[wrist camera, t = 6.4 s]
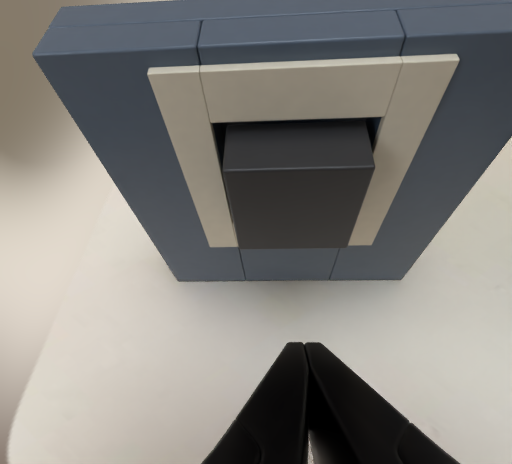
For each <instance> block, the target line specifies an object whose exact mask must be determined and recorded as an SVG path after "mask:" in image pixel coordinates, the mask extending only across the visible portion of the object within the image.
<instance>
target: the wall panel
mask: <svg viewBox="0 0 512 464" xmlns="http://www.w3.org/2000/svg"><path fill="white" fill-rule="evenodd" d="M32 55H33V57H34V59H35V61H36V62H37V63H38V65H39V67H40V68H41V69H42V71H43V73H44V75H45V76H46V78H47V79H48V81H49V82H50V84H51V85H52V87H53V88H54V90H55V92H56V93H57V95H58V96H59V98H60V99H61V101H62V102H63V104H64V105H65V107H66V108H67V110H68V112H69V113H70V115H71V116H72V118H73V119H74V121H75V122H76V124H77V126H78V127H79V129H80V130H81V132H82V133H83V135H84V136H85V138H86V139H87V141H88V143H89V144H90V146H91V147H92V149H93V150H94V152H95V153H96V155H97V157H98V158H99V160H100V161H101V163H102V164H103V166H104V167H105V169H106V170H107V172H108V174H109V175H110V177H111V178H112V180H113V181H114V183H115V184H116V186H117V188H118V189H119V191H120V192H121V194H122V195H123V197H124V198H125V200H126V201H127V203H128V205H129V206H130V208H131V209H132V211H133V212H134V214H135V215H136V217H137V218H138V220H139V222H140V223H141V225H142V226H143V228H144V229H145V231H146V232H147V234H148V236H149V237H150V239H151V240H152V242H153V243H154V245H155V246H156V248H157V249H158V251H159V253H160V254H161V256H162V257H163V259H164V260H165V262H166V263H167V265H168V266H169V268H170V270H171V271H172V273H173V274H174V276H175V277H176V279H177V280H178V281H245V280H247V281H270V280H329V279H330V280H401V279H402V278H403V277H404V275H405V274H406V273H407V272H408V270H409V269H410V268H411V266H412V265H413V264H414V262H415V261H416V260H417V259H418V257H419V256H420V255H421V253H422V252H423V251H424V250H425V248H426V247H427V246H428V244H429V243H430V242H431V240H432V239H433V238H434V237H435V235H436V234H437V233H438V231H439V230H440V229H441V227H442V226H443V225H444V224H445V222H446V221H447V220H448V218H449V217H450V216H451V214H452V213H453V212H454V211H455V209H456V208H457V207H458V205H459V204H460V203H461V201H462V200H463V199H464V198H465V196H466V195H467V194H468V192H469V191H470V190H471V188H472V187H473V186H474V185H475V183H476V182H477V181H478V179H479V178H480V177H481V175H482V174H483V173H484V172H485V170H486V169H487V168H488V166H489V165H490V164H491V163H492V161H493V160H494V159H495V157H496V156H497V155H498V153H499V152H500V151H501V150H502V148H503V147H504V146H505V144H506V143H507V142H508V140H509V139H510V138H511V137H512V0H173V1H157V2H140V3H121V4H103V5H87V6H69V7H61V8H60V10H59V11H58V13H57V15H56V16H55V18H54V19H53V21H52V22H51V24H50V25H49V29H48V30H47V31H46V32H45V34H44V36H43V37H42V39H41V41H40V42H39V44H38V45H37V47H36V48H35V50H34V51H33V53H32ZM340 121H365V122H366V126H367V131H368V135H369V140H370V144H371V149H372V153H373V158H374V162H375V167H376V168H375V170H374V173H373V176H372V179H371V182H370V185H369V187H368V190H367V193H366V196H365V199H364V201H363V204H362V207H361V210H360V213H359V215H358V218H357V221H356V224H355V227H354V229H353V232H352V235H351V238H350V241H349V244H348V246H347V248H322V249H239V247H238V242H237V238H236V233H235V228H234V224H233V219H232V214H231V209H230V205H229V200H228V195H227V191H226V186H225V181H224V177H223V172H222V170H223V159H224V148H225V137H226V128H227V126H229V125H253V124H282V123H311V122H340Z"/></svg>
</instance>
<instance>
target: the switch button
mask: <svg viewBox="0 0 512 464" xmlns="http://www.w3.org/2000/svg"><path fill="white" fill-rule="evenodd" d="M375 168H376V167H375V162H374V158H373V153H372V149H371V144H370V140H369V135H368V131H367V126H366V122H365V121H340V122H311V123H282V124H253V125H229V126H227V128H226V137H225V148H224V159H223V170H222V172H223V177H224V181H225V186H226V191H227V195H228V200H229V205H230V209H231V214H232V219H233V224H234V228H235V233H236V238H237V242H238V247H239V249H322V248H347V246H348V244H349V241H350V238H351V235H352V232H353V229H354V227H355V224H356V221H357V218H358V215H359V213H360V210H361V207H362V204H363V201H364V199H365V196H366V193H367V190H368V187H369V185H370V182H371V179H372V176H373V173H374V170H375Z"/></svg>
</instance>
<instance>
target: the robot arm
mask: <svg viewBox="0 0 512 464" xmlns="http://www.w3.org/2000/svg"><path fill="white" fill-rule="evenodd" d="M309 439H310V444H311V450H312V455H313V460H314V464H460V463H459V462H458V461H456V460H455V459H454V458H452V457H451V456H450V455H449V454H447V453H446V452H445V451H444V450H443V449H441V448H440V447H439V446H438V445H437V444H435V443H434V442H433V441H432V440H431V439H430V438H428V437H427V436H426V435H425V434H424V433H423V432H421V431H420V430H419V429H418V428H417V427H416V426H415V425H414V424H412V423H409V420H408V419H407V418H405V417H404V416H403V415H402V414H401V413H400V412H399V411H397V410H396V409H395V408H394V407H393V406H392V405H391V404H390V403H388V402H387V401H386V400H385V399H384V398H383V397H382V396H380V395H379V394H378V393H377V392H376V391H375V390H374V389H373V388H371V387H370V386H369V385H368V384H367V383H366V382H365V381H363V380H362V379H361V378H360V377H359V376H358V375H357V374H356V373H354V372H353V371H352V370H351V369H350V368H349V367H348V366H346V365H345V364H344V363H343V362H342V361H341V360H340V359H339V358H337V357H336V356H335V355H334V354H333V353H332V352H331V351H329V350H328V349H327V348H326V347H325V346H324V345H323V344H321V343H319V342H307V343H305V344H303V343H301V342H289V343H287V344H286V346H285V347H284V349H283V350H282V352H281V353H280V355H279V356H278V357H277V359H276V360H275V362H274V363H273V365H272V366H271V368H270V369H269V371H268V372H267V373H266V375H265V376H264V378H263V379H262V381H261V382H260V384H259V385H258V387H257V388H256V389H255V391H254V392H253V394H252V395H251V397H250V398H249V400H248V401H247V403H246V404H245V406H244V407H243V408H242V410H241V411H240V413H239V414H238V416H237V417H236V420H234V421H233V423H232V424H231V426H230V427H229V429H228V430H227V432H226V433H225V434H224V436H223V437H222V438H221V440H220V441H219V442H218V444H217V445H216V446H215V448H214V449H213V450H212V451H211V453H210V454H209V455H208V456H207V457H206V458H205V460H204V461H203V462H202V463H201V464H308V452H309Z"/></svg>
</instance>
